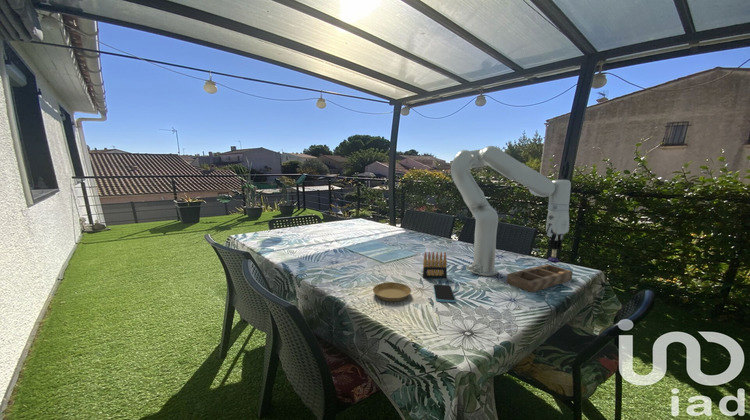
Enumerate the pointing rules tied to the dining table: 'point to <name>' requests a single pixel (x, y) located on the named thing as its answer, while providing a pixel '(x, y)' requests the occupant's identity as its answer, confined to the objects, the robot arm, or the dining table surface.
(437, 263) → the ammunition clip
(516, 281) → the tray
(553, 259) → the toy lamp
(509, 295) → the dining table surface
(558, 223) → the robot arm
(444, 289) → the smartphone
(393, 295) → the plant saucer
